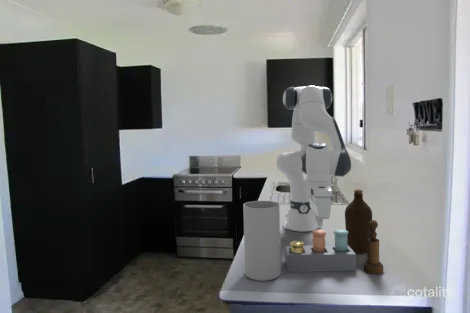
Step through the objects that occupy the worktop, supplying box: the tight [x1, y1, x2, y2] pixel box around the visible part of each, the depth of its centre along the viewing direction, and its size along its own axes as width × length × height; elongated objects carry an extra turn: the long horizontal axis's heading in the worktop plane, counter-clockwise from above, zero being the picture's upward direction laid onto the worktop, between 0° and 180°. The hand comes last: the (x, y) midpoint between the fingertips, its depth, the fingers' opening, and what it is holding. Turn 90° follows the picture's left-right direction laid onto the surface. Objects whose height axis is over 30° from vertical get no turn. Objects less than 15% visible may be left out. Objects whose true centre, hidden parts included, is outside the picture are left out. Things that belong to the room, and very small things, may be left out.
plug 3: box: [333, 229, 348, 252], centre depth 135 cm, size 5×5×8 cm
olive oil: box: [344, 189, 373, 255], centre depth 150 cm, size 11×11×25 cm
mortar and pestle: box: [362, 219, 384, 275], centre depth 129 cm, size 7×6×18 cm
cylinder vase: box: [242, 200, 282, 282], centre depth 129 cm, size 12×12×25 cm
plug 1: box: [289, 240, 305, 253], centre depth 136 cm, size 5×5×8 cm
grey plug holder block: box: [284, 244, 357, 272], centre depth 136 cm, size 10×24×6 cm, turn 88°
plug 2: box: [311, 229, 327, 253], centre depth 135 cm, size 5×5×8 cm
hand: (319, 225), depth 134 cm, fingers closed
